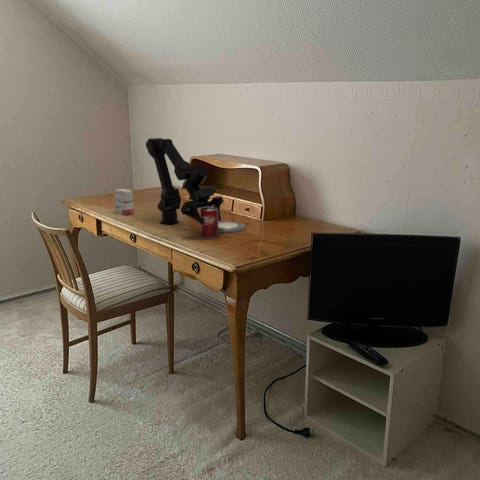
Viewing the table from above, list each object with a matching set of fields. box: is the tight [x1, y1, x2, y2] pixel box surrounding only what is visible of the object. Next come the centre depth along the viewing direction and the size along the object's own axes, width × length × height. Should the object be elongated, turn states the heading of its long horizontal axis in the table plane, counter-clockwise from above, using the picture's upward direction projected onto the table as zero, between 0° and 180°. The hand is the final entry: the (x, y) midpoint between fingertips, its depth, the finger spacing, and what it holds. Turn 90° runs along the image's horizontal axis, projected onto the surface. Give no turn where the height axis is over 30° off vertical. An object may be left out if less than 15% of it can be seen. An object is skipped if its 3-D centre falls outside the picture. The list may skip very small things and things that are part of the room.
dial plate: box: [218, 220, 246, 234], centre depth 219 cm, size 16×16×1 cm
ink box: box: [114, 188, 135, 216], centre depth 243 cm, size 9×5×12 cm, turn 53°
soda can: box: [199, 206, 219, 240], centre depth 204 cm, size 7×7×12 cm
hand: (211, 222), depth 203 cm, fingers open, 9 cm apart
